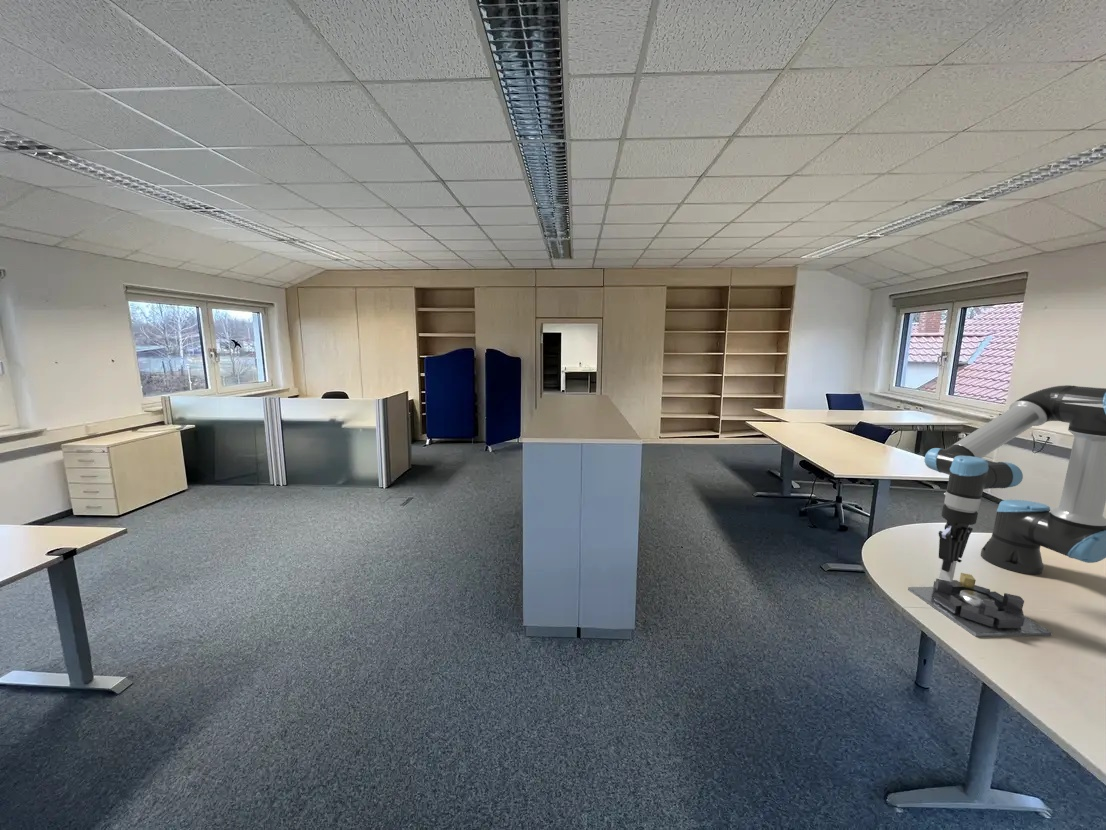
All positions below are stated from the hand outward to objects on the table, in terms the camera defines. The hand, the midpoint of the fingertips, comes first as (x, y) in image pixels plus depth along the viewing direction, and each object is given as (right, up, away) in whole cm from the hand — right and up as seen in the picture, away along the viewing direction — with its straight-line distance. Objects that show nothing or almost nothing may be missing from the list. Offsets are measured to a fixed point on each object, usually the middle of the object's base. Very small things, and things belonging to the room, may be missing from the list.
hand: (945, 579), depth 128 cm
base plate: (+3, -7, -6) cm, 9 cm away
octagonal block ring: (+3, -5, -6) cm, 9 cm away
